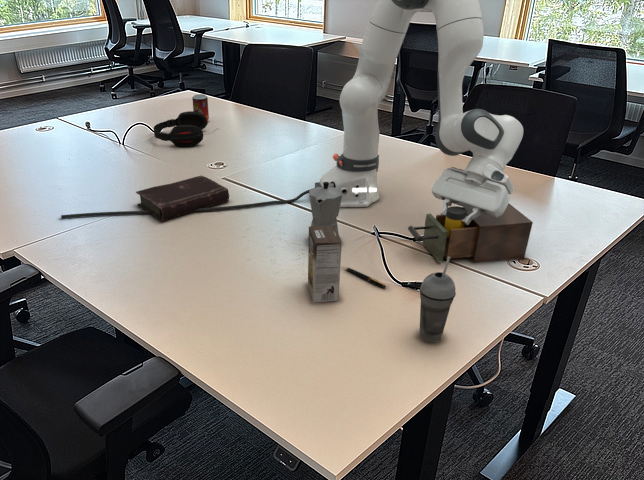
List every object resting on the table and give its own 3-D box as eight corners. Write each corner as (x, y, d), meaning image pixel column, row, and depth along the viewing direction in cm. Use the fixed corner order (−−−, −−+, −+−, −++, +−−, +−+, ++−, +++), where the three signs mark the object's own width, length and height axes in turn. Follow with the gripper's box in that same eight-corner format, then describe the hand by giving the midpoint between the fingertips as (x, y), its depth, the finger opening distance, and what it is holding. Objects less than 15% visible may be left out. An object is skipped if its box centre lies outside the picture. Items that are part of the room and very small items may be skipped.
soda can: (191, 123, 277) (189, 96, 270) (198, 119, 282) (197, 93, 276) (204, 124, 274) (202, 97, 268) (211, 120, 280) (210, 94, 273)
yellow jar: (447, 239, 155) (451, 214, 151) (440, 231, 159) (443, 207, 155) (466, 237, 155) (470, 213, 151) (458, 229, 159) (462, 205, 156)
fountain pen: (341, 269, 154) (341, 264, 154) (344, 268, 155) (344, 263, 154) (384, 290, 145) (384, 285, 144) (387, 288, 146) (388, 283, 145)
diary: (230, 202, 194) (229, 188, 192) (163, 223, 182) (161, 208, 180) (200, 186, 207) (199, 173, 205) (136, 205, 195) (134, 190, 192)
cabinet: (473, 263, 155) (480, 226, 150) (454, 241, 166) (459, 207, 160) (524, 258, 156) (533, 222, 151) (501, 237, 167) (509, 203, 161)
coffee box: (306, 284, 148) (307, 225, 140) (331, 282, 149) (334, 224, 140) (312, 303, 141) (314, 242, 132) (339, 301, 141) (342, 241, 133)
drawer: (417, 263, 154) (421, 233, 149) (402, 244, 163) (406, 215, 159) (485, 257, 156) (491, 227, 151) (467, 239, 165) (472, 210, 160)
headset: (226, 143, 250) (225, 122, 245) (168, 153, 240) (165, 132, 235) (202, 127, 271) (201, 108, 267) (147, 136, 262) (145, 116, 257)
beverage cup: (420, 323, 132) (432, 243, 122) (452, 333, 129) (467, 252, 118) (407, 339, 127) (418, 258, 117) (440, 350, 124) (455, 267, 113)
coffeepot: (333, 254, 161) (336, 192, 152) (301, 249, 165) (301, 188, 155) (347, 231, 174) (350, 172, 164) (316, 227, 177) (318, 169, 167)
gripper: (443, 159, 159) (417, 203, 159) (514, 178, 145) (485, 226, 145) (451, 171, 164) (425, 213, 164) (520, 191, 150) (491, 237, 150)
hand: (454, 220), depth 154 cm, fingers closed on yellow jar, 5 cm apart
